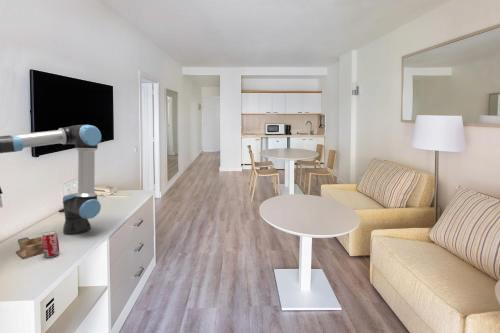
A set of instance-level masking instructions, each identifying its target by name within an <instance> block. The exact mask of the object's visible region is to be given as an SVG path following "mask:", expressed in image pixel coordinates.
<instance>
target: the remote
mask: <svg viewBox="0 0 500 333" xmlns="http://www.w3.org/2000/svg"><path fill="white" fill-rule="evenodd" d="M28 239H30V238H29V237H22V238H19V239H17V242H18V243H19V242H21V241H25V240H28Z"/></svg>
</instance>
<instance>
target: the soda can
mask: <svg viewBox="0 0 500 333" xmlns="http://www.w3.org/2000/svg"><path fill="white" fill-rule="evenodd" d="M41 239H42V245H43V252H44V253H43V255H44V257H46V258H48V259H49V258H50V259H51V258H54V257H56V256H58V255H59V254H60V242H59V238H58V234H57V233H56V231H55V230H50V231H45V232H42V236H41Z"/></svg>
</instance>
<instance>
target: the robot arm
mask: <svg viewBox="0 0 500 333" xmlns="http://www.w3.org/2000/svg"><path fill="white" fill-rule="evenodd" d="M101 141H102V133H101V131H100V129H99V128H98V127H96V126H95V125H90V124H76V125H71V126H65V127H59V128H58V129H57V130H56V129H54V130H47V131H36V132H27V133H17V134H16V133H15V134H11V135H0V154H7V153H16V152H22V151H23V149H25V148H27V149H28V148H34V147H41V146H49V145H55V144H62V145H74V146H75V150H77V152H78V153H77V154H78V155H77V158H78V159H77V161H78V162H77V166H78V168H77V171H78V172H77V174H78V176H77V178H78V179H77V182H78V183H77V184H78V186H77V188H78V190H77V192H74V193H70V194H66V195H64V196H62V206H63V211H64V224H63V228H62V230H63V234H64V235H78V234H83V233H86V232H88V231H89V230H91V229H92V225H91V223H90V220H89V219H94V218H95V217H97V216H98V214H99V213H100V211H101V208H102V207H101V203H100V201H99V200H98V194H97V193H96V192H95V176H96V175H95V172H96V171H95V168H96V167H95V166H96V165H95V159H96V157H95V156H96V155H95V153H96V151H97V150H98V145H99V143H101ZM2 190H3V189H2V188H1V186H0V208H3V206H4V205H3V200H2V194H3V191H2Z"/></svg>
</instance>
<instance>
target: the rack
mask: <svg viewBox="0 0 500 333" xmlns="http://www.w3.org/2000/svg"><path fill="white" fill-rule="evenodd" d="M18 244H19V250H16V251H15V254H16V255H18V256H19V257H20V258H21V259H22V260H25V259H29V258H31V257H35V256H39V255H42V254H44V252H43V245H42V236H37V237H33V238H32V237H31V238H29V239H28V240H25V241H21V242H18Z"/></svg>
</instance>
